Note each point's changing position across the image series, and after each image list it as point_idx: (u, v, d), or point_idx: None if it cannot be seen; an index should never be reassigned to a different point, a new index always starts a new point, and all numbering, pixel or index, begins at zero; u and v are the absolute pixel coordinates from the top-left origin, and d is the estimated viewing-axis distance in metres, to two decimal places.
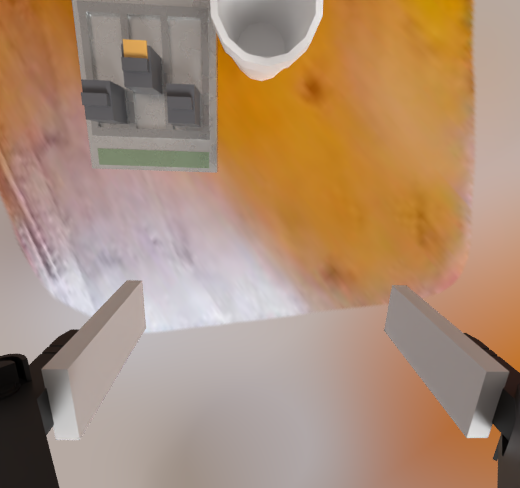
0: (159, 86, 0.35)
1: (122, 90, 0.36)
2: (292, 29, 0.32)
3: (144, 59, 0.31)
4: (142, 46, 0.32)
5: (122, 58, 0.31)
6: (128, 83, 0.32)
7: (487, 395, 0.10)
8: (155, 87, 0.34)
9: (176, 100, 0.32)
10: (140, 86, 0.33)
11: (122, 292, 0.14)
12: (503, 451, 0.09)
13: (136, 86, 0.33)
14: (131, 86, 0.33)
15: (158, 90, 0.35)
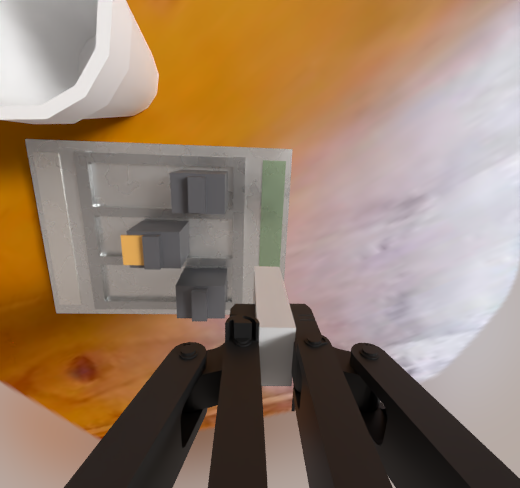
0: (178, 223, 0.26)
1: (186, 270, 0.28)
2: (70, 1, 0.19)
3: (143, 239, 0.22)
4: (128, 240, 0.23)
5: (146, 267, 0.23)
6: (176, 263, 0.24)
7: (282, 348, 0.12)
8: (179, 228, 0.24)
9: (193, 199, 0.22)
10: (179, 248, 0.24)
11: (260, 275, 0.16)
12: (298, 404, 0.11)
13: (179, 253, 0.24)
14: (180, 259, 0.24)
15: (183, 225, 0.25)
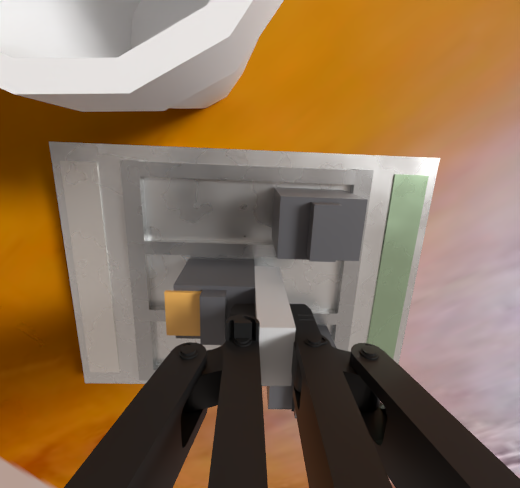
0: (242, 266, 0.17)
1: None
2: None
3: (202, 301, 0.14)
4: (175, 299, 0.15)
5: (202, 342, 0.15)
6: None
7: (281, 348, 0.12)
8: (250, 277, 0.16)
9: (320, 240, 0.13)
10: None
11: (260, 275, 0.16)
12: (298, 404, 0.11)
13: None
14: None
15: (251, 269, 0.17)
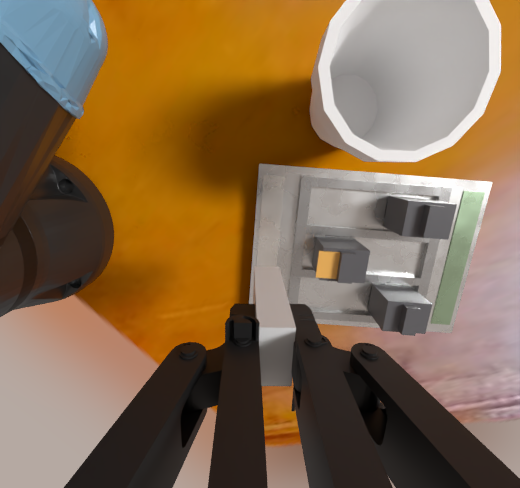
0: (352, 242, 0.28)
1: (377, 286, 0.30)
2: (353, 54, 0.23)
3: (343, 256, 0.25)
4: (323, 256, 0.26)
5: (339, 281, 0.26)
6: (361, 278, 0.26)
7: (281, 348, 0.12)
8: (363, 247, 0.27)
9: (430, 225, 0.24)
10: (366, 265, 0.26)
11: (260, 275, 0.16)
12: (298, 404, 0.11)
13: (365, 269, 0.26)
14: (364, 275, 0.26)
15: (360, 244, 0.28)
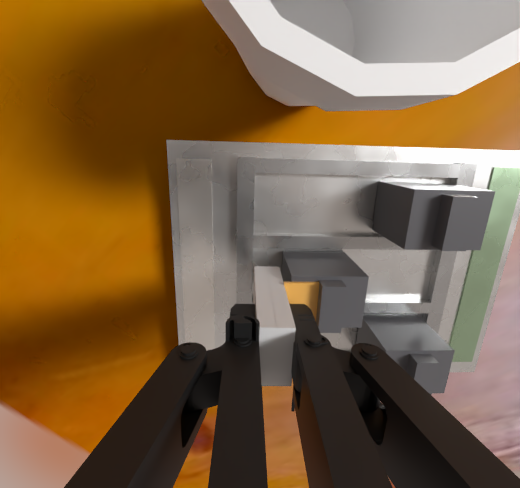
0: (339, 258, 0.18)
1: (367, 318, 0.20)
2: None
3: (324, 290, 0.15)
4: (292, 289, 0.15)
5: (320, 330, 0.15)
6: (356, 320, 0.16)
7: (281, 348, 0.12)
8: (356, 268, 0.17)
9: (454, 230, 0.14)
10: (363, 299, 0.16)
11: (260, 275, 0.16)
12: (298, 404, 0.11)
13: (362, 306, 0.16)
14: None
15: (351, 261, 0.18)
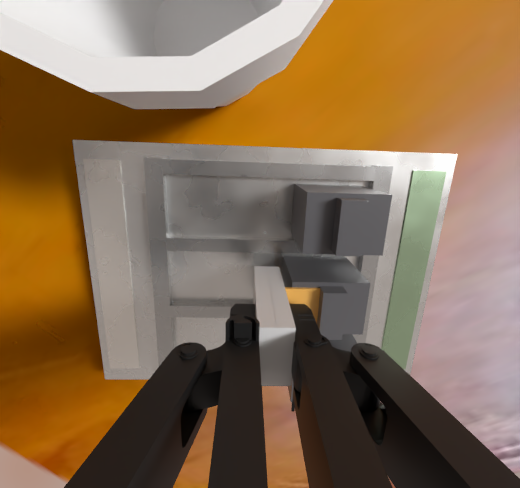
0: (341, 263, 0.18)
1: None
2: None
3: (325, 297, 0.15)
4: (292, 295, 0.15)
5: None
6: (358, 327, 0.16)
7: (281, 348, 0.12)
8: (358, 274, 0.16)
9: (346, 234, 0.14)
10: (364, 305, 0.16)
11: (260, 275, 0.16)
12: (298, 404, 0.11)
13: (363, 312, 0.16)
14: (362, 321, 0.16)
15: (352, 267, 0.17)
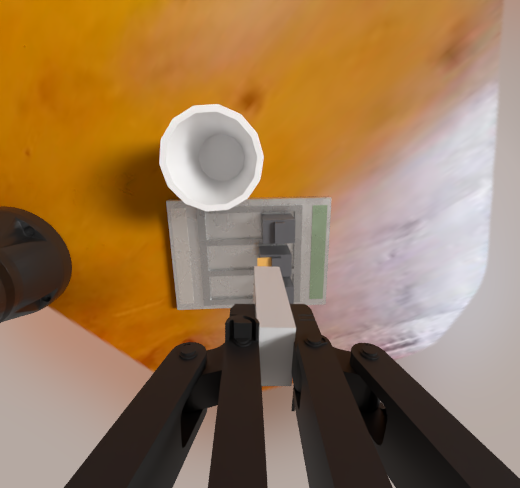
0: (283, 247, 0.41)
1: None
2: (209, 129, 0.34)
3: (272, 260, 0.37)
4: (261, 260, 0.38)
5: None
6: (289, 273, 0.39)
7: (282, 348, 0.12)
8: (288, 251, 0.39)
9: (278, 235, 0.37)
10: (290, 263, 0.39)
11: (260, 275, 0.16)
12: (298, 404, 0.11)
13: (290, 267, 0.39)
14: (290, 270, 0.39)
15: (288, 248, 0.40)
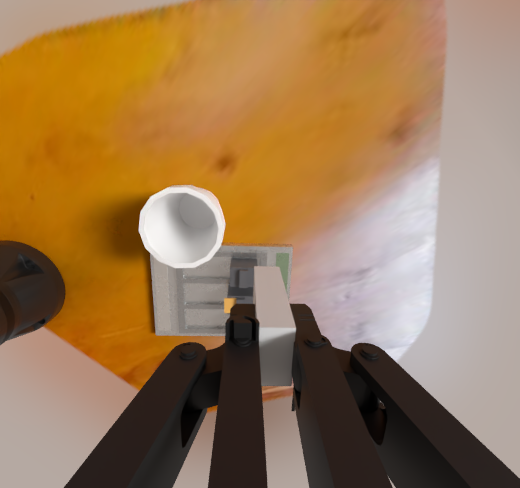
0: (249, 288, 0.47)
1: None
2: None
3: (237, 301, 0.44)
4: (227, 300, 0.44)
5: None
6: None
7: (282, 348, 0.12)
8: (252, 293, 0.45)
9: (242, 281, 0.43)
10: None
11: (260, 275, 0.16)
12: (298, 404, 0.11)
13: None
14: None
15: None
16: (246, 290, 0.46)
